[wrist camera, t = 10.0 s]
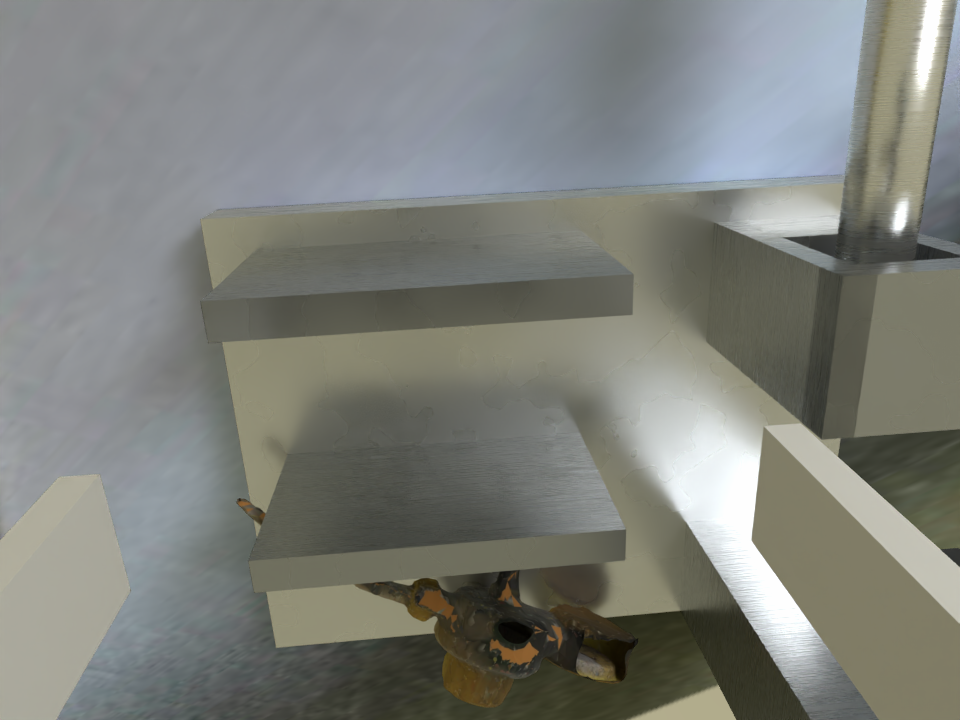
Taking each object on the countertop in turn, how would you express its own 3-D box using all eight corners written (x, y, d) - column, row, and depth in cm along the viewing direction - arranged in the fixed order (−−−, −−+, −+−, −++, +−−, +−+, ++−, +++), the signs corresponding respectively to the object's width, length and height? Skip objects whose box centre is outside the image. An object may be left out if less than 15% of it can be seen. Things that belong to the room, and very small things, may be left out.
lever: (809, -275, 16) (929, -388, 12) (980, -278, 16) (1149, -391, 13) (753, 341, 21) (825, 394, 17) (885, 332, 21) (984, 382, 18)
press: (217, 209, 23) (-594, 657, 5) (841, 174, 25) (2184, 417, 6) (285, 612, 29) (40, 1558, 10) (793, 567, 30) (1406, 1336, 11)
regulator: (193, 571, 24) (562, 714, 28) (181, 616, 20) (609, 773, 24) (299, 370, 25) (642, 537, 29) (306, 376, 21) (700, 568, 25)
